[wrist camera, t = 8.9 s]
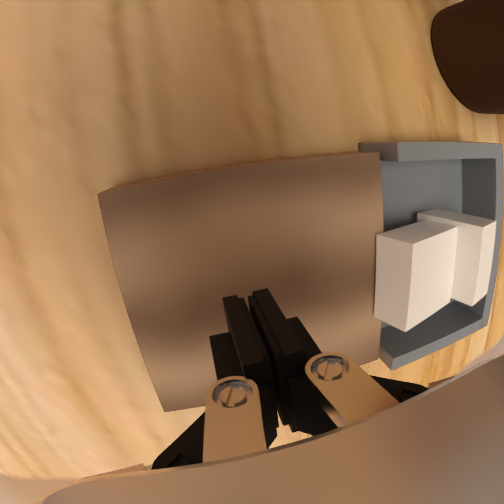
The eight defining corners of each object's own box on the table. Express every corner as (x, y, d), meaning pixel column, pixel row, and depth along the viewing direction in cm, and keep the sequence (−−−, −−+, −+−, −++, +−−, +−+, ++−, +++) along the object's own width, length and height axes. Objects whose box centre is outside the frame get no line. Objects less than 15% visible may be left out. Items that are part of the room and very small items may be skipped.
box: (358, 143, 18) (396, 142, 14) (463, 141, 20) (502, 144, 16) (363, 341, 22) (391, 370, 19) (456, 306, 24) (486, 325, 20)
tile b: (482, 227, 15) (496, 220, 16) (417, 213, 19) (436, 208, 20) (472, 306, 16) (487, 293, 17) (413, 283, 21) (432, 274, 22)
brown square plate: (111, 188, 16) (97, 193, 13) (352, 151, 18) (379, 152, 15) (165, 382, 20) (164, 412, 17) (358, 337, 22) (378, 359, 19)
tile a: (376, 234, 17) (412, 244, 14) (425, 219, 19) (457, 226, 16) (373, 316, 18) (405, 332, 16) (421, 290, 20) (449, 302, 18)
